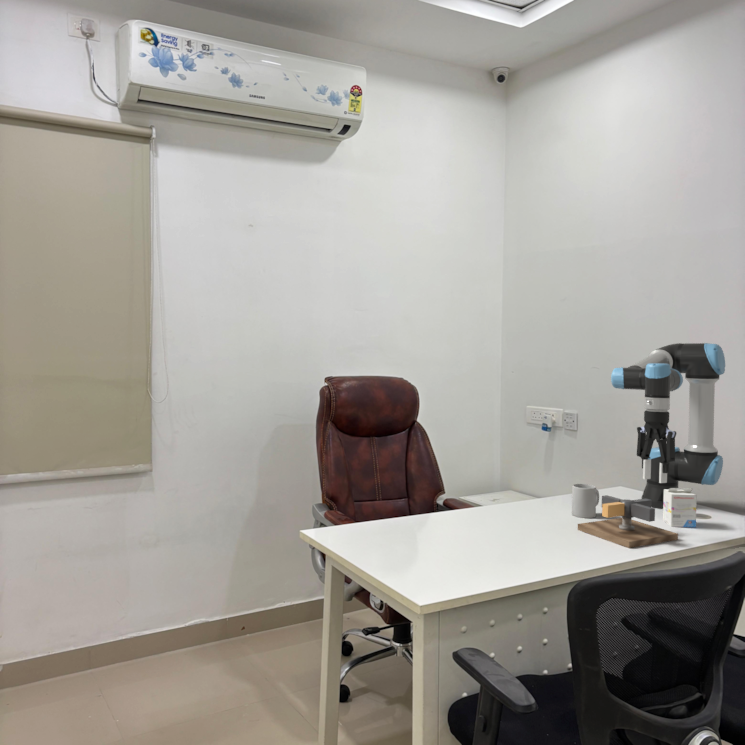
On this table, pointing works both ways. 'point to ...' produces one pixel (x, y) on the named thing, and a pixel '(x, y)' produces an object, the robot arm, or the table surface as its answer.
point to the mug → (584, 500)
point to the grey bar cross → (628, 508)
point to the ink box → (679, 507)
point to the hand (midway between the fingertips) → (654, 480)
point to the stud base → (627, 532)
